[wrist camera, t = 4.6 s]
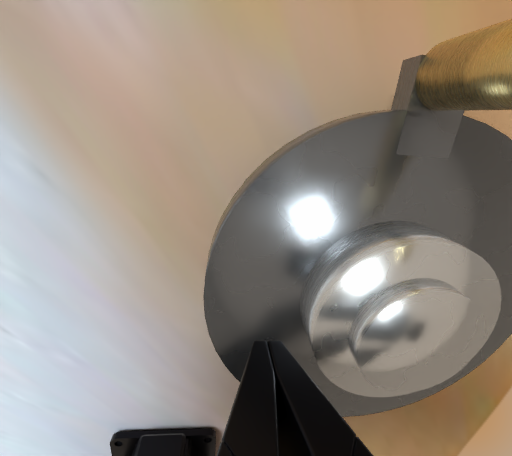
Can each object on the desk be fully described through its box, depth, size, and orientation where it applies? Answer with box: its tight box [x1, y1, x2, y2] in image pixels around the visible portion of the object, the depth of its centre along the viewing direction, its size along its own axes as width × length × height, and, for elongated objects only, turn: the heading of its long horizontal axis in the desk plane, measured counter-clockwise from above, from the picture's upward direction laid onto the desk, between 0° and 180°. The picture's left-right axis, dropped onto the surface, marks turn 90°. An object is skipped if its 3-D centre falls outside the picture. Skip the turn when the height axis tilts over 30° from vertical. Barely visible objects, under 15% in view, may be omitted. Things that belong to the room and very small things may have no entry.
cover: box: [300, 221, 501, 397], centre depth 11 cm, size 7×7×3 cm
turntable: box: [204, 19, 512, 417], centre depth 10 cm, size 17×15×8 cm
